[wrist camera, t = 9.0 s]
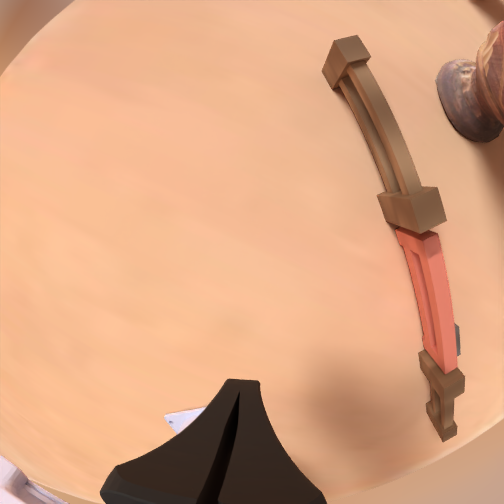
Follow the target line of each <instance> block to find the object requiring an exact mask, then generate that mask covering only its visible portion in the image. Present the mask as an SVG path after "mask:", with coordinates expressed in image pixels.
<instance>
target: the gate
mask: <svg viewBox="0 0 504 504" xmlns="http://www.w3.org/2000/svg"><path fill="white" fill-rule="evenodd" d="M395 231H396V234H397V237H398V240H399V244H400V245H402V246H403V248H404V251H405V255H406V258H407V262H408V265H409V269H410V273H411V277H412V281H413V285H414V289H415V293H416V297H417V302H418V307H419V311H420V316H421V321H422V327H423V332H424V336H423V337H422V339H423V345H424V348H425V349H426V351H427V352H428V353H429V354H430V356H431V357H432V358H433V359H434V361H435V362H436V363H437V365H438V366H439V367H440V368H441V370H442V371H443V372H444V374H447V373H449V372H450V371H452V370H454V369H455V368H457V348H456V335H455V325H454V316H453V308H452V301H451V295H450V289H449V283H448V277H447V272H446V267H445V262H444V257H443V253H442V249H441V244H440V240H439V236H438V233H435V232H432V231H430V230H427V231H425V232H423V233H421V234H420V233H417V232H414V231H412V230H409V229H406V228H404V227H400V228H397V229H395Z"/></svg>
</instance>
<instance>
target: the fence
mask: <svg viewBox="0 0 504 504" xmlns="http://www.w3.org/2000/svg"><path fill="white" fill-rule="evenodd" d="M370 57H371V56H370V54H369V52H368V51H367V49H366V47H365V46H364V44H363V43H362V41H361V40H360V38H359V37H358V35H355V36H350V37H346V38H342V39H338V40H334V42H333V44H332V47H331V49H330V52H329V54H328V57H327V59H326V62H325V64H324V67H323V69H322V73H323V74H324V76H325V78H326V80H327V81H328V83H329V85H330V87H331V89H335V88H338V87H340V88H341V90H342V91H343V93H344V95H345V97H346V99H347V101H348V103H349V105H350V107H351V109H352V111H353V113H354V115H355V117H356V119H357V121H358V123H359V125H360V127H361V130H362V132H363V134H364V136H365V138H366V141H367V143H368V145H369V147H370V150H371V152H372V154H373V157H374V159H375V162H376V164H377V167H378V169H379V172H380V174H381V177H382V179H383V182H384V185H385V187H386V190H387V191H386V192H383V193H381V194H378V195H377V197H378V200H379V203H380V205H381V208H382V211H383V214H384V217H385V220H386V221H387V222H390V223H393V224H395V225H398V226H401V227H404V228H406V229H409V230H412V231H414V232H417V233H420V234H421V233H423V232H425V231H427V230H429V229H431V228H433V227H435V226H437V225H439V224H441V223H443V222H445V221H447V219H446V216H445V212H444V208H443V204H442V201H441V197H440V194H439V191H438V188H437V187H422V186H421V183H420V180H419V177H418V174H417V171H416V169H415V166H414V163H413V161H412V158H411V155H410V153H409V150H408V148H407V145H406V143H405V140H404V138H403V136H402V133H401V131H400V129H399V126H398V124H397V122H396V120H395V118H394V116H393V113H392V111H391V109H390V107H389V105H388V103H387V101H386V99H385V97H384V95H383V93H382V91H381V89H380V87H379V86H378V84H377V82H376V80H375V78H374V76H373V75H372V73H371V71H370V69H369V68H368V66H367V64H366V63H367V61H368V60H369V59H370ZM454 325H455V335H456V348H457V356H459V355H460V334H459V326H457V325H456V324H455V323H454ZM418 354H419V361H420V368H421V370H422V371H423V373H424V374H425V376H426V377H427V379H428V380H429V382H430V387H431V401H430V402H428V403H426V410H427V414H428V415H429V417H430V419H431V421H432V423H433V425H434V427H435V428H436V430H437V432H438V434H439V436H440V438H441V440H442V442H445V441H446V440H448V439H450V438H452V437H453V436H455V435H457V425H456V423H455V422H454V420H453V416H454V398H456V397H457V396H459V395H461V394H462V393H464V387H465V376H464V375H463V373H462V372H461V371H460V370H459V369H458V367H457V368H455V369H454V370H452V371H450V372H449V373H447V374H444V372H443V371H442V370H441V368H440V367H439V366H438V365H437V363H436V362H435V361H434V359H433V358H432V357H431V356H430V354H429V353H428V352H427V351H426V349H425V350H423V351H421V352H419V353H418Z"/></svg>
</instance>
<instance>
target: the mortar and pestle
mask: <svg viewBox="0 0 504 504" xmlns="http://www.w3.org/2000/svg"><path fill="white" fill-rule="evenodd" d="M435 81H436V83H437V88H438V93H439V96H440V99H441V102H442V104H443V106H444V109H445V111H446V114H447V116H448V118H449V119H450V121H451V122H452V124H453V125H454V127H455V128H456V129H457V130H458V131H459V132H460V133H461V134H462V135H464V136H465V137H467V138H468V139H470V140H472V141H477V142H490V141H491V140H493V139H495V138H496V137H498V136H499V134H500V132H501V131H502V129H503V127H504V20H503V21H501V22H500V23H499V24H498V25H497V26H495V27H494V28H493V29H492V30H491V31H490V33H489V34H488V38H487V41H485V42H484V43H483V44H482V45H481V46H480V48H479V50H478V53H477V58H476V63H474V62H472V61H470V60H454V61H451V62H448V63H446V64H444V65H443V67H442V68H441V70H440V72H439V74H438V76H437V78H436V79H435Z"/></svg>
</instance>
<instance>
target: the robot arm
mask: <svg viewBox="0 0 504 504" xmlns="http://www.w3.org/2000/svg"><path fill="white" fill-rule="evenodd" d="M164 419H165V420H166V421H167V423H168V424H169V425H170V426H171V427H172V428H173V430H174V431H175V432H176V433H177V435H176V436H175V437H173V438H172V439H170V440H169V441H167V442H166V443H164V444H163V445H161V446H160V447H158V448H156V449H154V450H152V451H150V452H149V453H147V454H145V455H143V456H141V457H138V458H136V459H134V460H131V461H128V462H126V463H123V464H120V465H117V466H115V468H114V469H113V471H112V472H111V473H110V474H109V476H108V477H107V479H106V481H105V483H104V485H103V487H102V488H101V490H100V496H101V498H102V499H103V501H104V502H105V503H106V504H327V502H326V500H325V498H324V496H323V494H322V492H321V491H320V490H319V489H318V488H317V487H315V486H314V485H313V484H312V483H311V482H310V481H309V480H308V479H307V478H306V477H305V475H304V474H303V473H302V472H301V471H300V470H299V469H298V467H297V466H296V465H295V463H294V462H293V461H292V460H291V458H290V457H289V456H288V454H287V453H286V451H285V450H284V448H283V446H282V445H281V443H280V441H279V440H278V438H277V436H276V434H275V432H274V430H273V428H272V426H271V424H270V421H269V419H268V416H267V413H266V411H265V408H264V405H263V401H262V397H261V392H260V382H259V381H257V380H240V379H227V380H226V381H225V383H224V385H223V386H222V388H221V389H220V391H219V392H218V393H217V395H216V396H215V397H214V399H213V400H212V401H211V402H210V403H209V405H208V406H207V407H203V408H198V409H193V410H187V411H182V412H176V413H170V414H166V415H165V417H164ZM172 421H173V422H172ZM0 504H69V503H67V502H65V501H64V500H62V499H60V498H58V497H56V496H55V495H53V494H51V493H50V492H48V491H46V490H44V489H43V488H41V487H40V486H38V485H36V484H35V483H33V482H32V481H30V480H29V479H28V478H27V476H26V475H25V474H24V473H23V472H22V471H21V470H20V469H19V468H18V467H17V466H16V465H14V464H13V463H12V462H10V461H9V460H8V459H6V458H5V457H4V456H1V457H0Z"/></svg>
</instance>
